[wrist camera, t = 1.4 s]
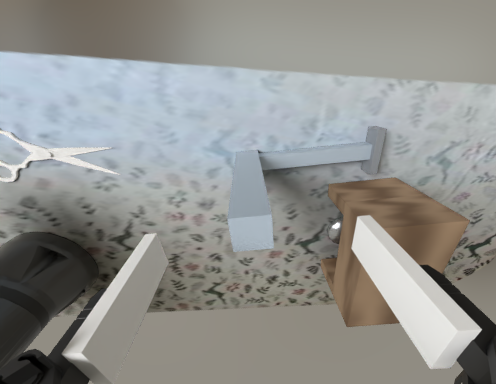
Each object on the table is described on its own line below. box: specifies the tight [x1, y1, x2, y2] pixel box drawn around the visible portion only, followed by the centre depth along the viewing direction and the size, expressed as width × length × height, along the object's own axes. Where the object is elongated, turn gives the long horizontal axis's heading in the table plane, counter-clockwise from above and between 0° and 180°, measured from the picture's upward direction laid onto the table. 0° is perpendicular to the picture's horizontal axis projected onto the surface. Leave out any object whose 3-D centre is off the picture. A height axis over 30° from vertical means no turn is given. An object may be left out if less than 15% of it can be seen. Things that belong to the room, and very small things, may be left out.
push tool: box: [227, 126, 387, 252], centre depth 21 cm, size 19×6×16 cm, turn 96°
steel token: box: [327, 217, 343, 244], centre depth 34 cm, size 5×5×1 cm
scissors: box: [0, 129, 121, 182], centre depth 27 cm, size 11×1×20 cm
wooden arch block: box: [321, 178, 470, 327], centre depth 29 cm, size 10×18×11 cm, turn 6°
